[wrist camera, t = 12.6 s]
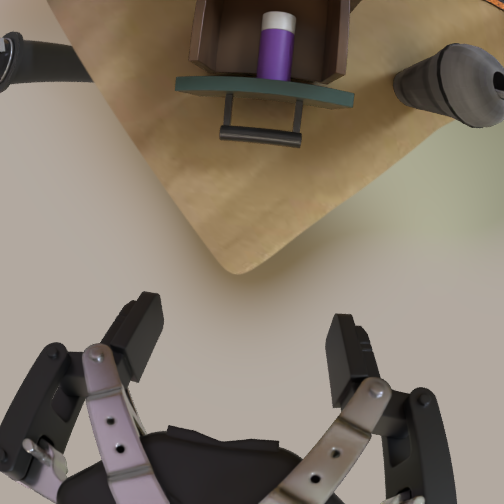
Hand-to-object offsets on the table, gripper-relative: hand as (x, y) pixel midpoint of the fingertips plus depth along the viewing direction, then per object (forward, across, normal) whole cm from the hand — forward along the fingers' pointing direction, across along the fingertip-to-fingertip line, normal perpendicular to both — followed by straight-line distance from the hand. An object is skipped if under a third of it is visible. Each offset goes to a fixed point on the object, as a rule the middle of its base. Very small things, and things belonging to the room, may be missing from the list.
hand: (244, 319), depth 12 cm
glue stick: (+18, 0, -15) cm, 24 cm away
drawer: (+20, 0, -15) cm, 25 cm away
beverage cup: (+21, -16, -15) cm, 30 cm away
